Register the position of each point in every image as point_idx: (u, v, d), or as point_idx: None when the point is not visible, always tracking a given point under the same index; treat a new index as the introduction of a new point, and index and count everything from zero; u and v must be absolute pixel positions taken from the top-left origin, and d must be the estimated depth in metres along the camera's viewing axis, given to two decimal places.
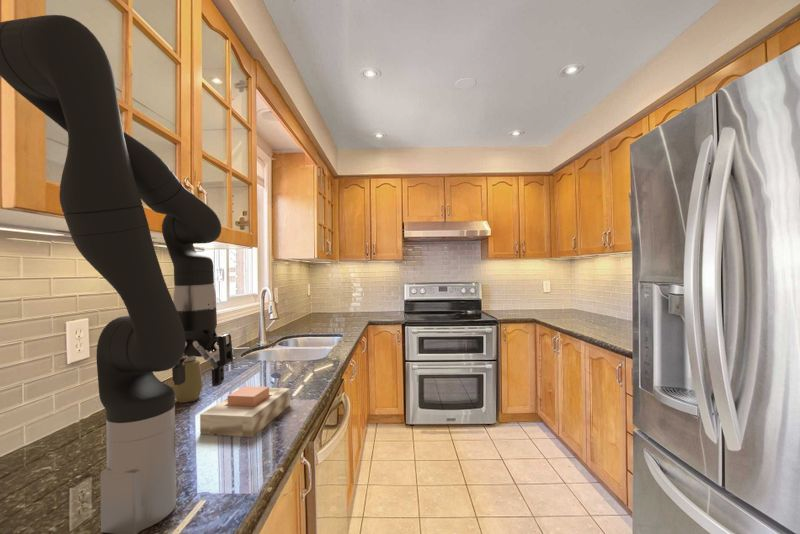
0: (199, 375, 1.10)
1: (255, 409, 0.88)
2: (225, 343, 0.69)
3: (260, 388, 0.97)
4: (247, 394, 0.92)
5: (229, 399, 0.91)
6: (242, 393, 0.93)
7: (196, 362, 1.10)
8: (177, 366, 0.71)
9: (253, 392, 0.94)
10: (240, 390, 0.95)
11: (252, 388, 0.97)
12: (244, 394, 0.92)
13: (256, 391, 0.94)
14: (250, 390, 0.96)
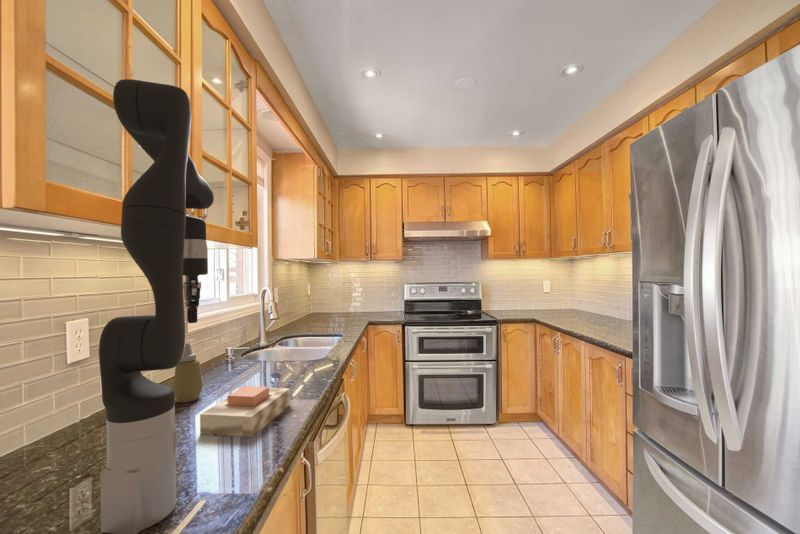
0: (199, 375, 1.10)
1: (255, 409, 0.88)
2: None
3: (260, 388, 0.97)
4: (247, 394, 0.92)
5: (229, 399, 0.91)
6: (242, 393, 0.93)
7: (196, 362, 1.10)
8: None
9: (253, 392, 0.94)
10: (240, 390, 0.95)
11: (252, 388, 0.97)
12: (244, 394, 0.92)
13: (256, 391, 0.94)
14: (250, 390, 0.96)
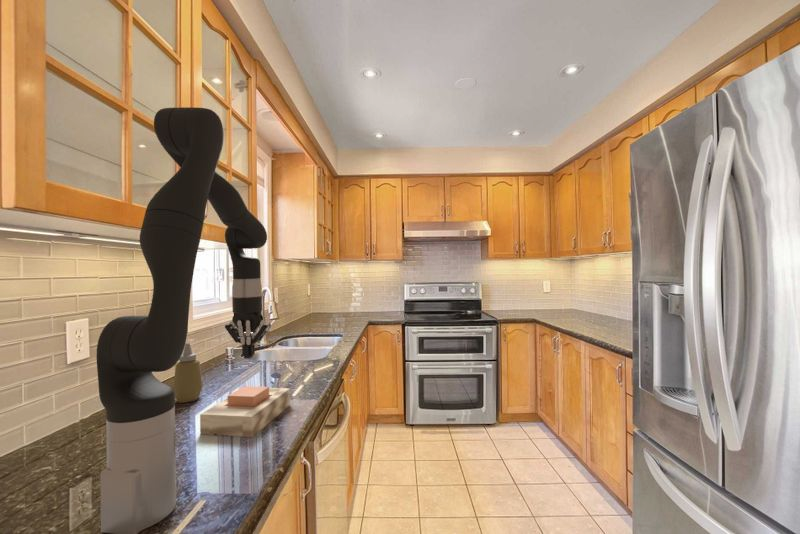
0: (199, 375, 1.10)
1: (255, 409, 0.88)
2: None
3: (260, 388, 0.97)
4: (247, 394, 0.92)
5: (229, 399, 0.91)
6: (242, 393, 0.93)
7: (196, 362, 1.10)
8: None
9: (253, 392, 0.94)
10: (240, 390, 0.95)
11: (252, 388, 0.97)
12: (244, 394, 0.92)
13: (256, 391, 0.94)
14: (250, 390, 0.96)
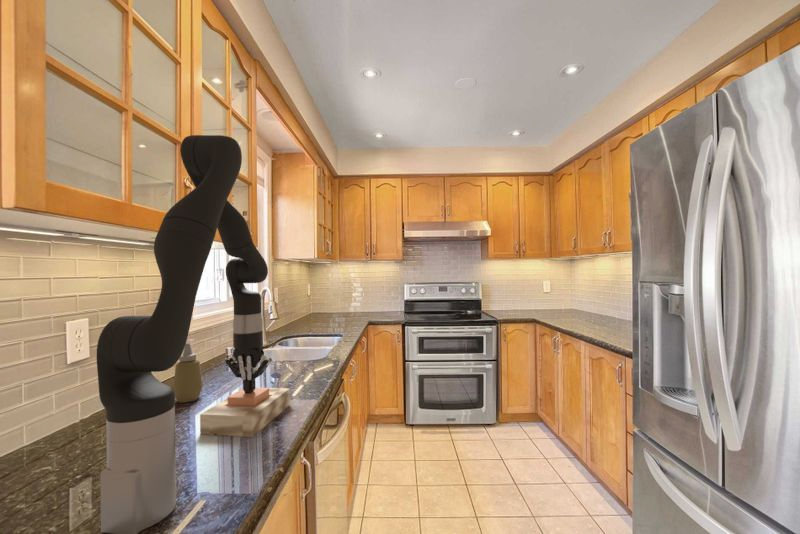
0: (199, 375, 1.10)
1: (255, 409, 0.88)
2: None
3: (260, 389, 0.97)
4: (247, 396, 0.92)
5: (229, 401, 0.91)
6: (242, 395, 0.93)
7: (196, 362, 1.10)
8: None
9: (253, 393, 0.94)
10: (240, 391, 0.95)
11: None
12: (244, 395, 0.92)
13: (256, 392, 0.94)
14: None
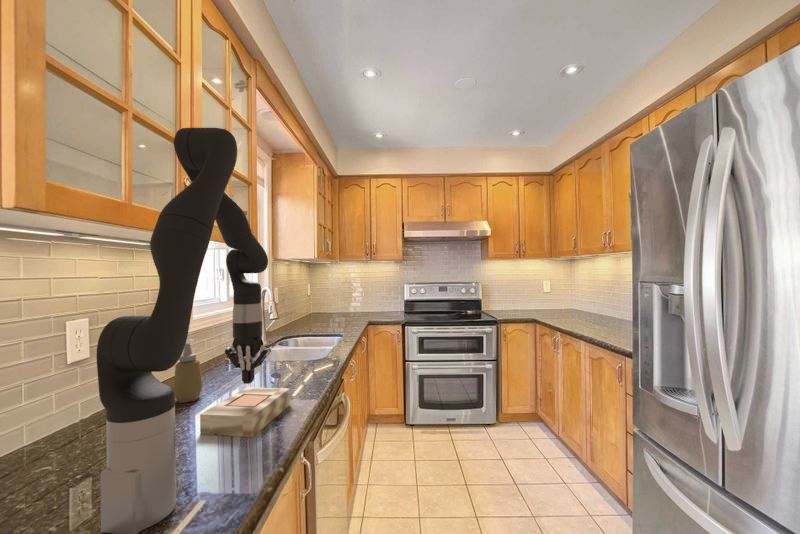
0: (199, 375, 1.10)
1: (255, 409, 0.88)
2: None
3: (260, 397, 0.97)
4: (247, 404, 0.92)
5: None
6: (242, 403, 0.93)
7: (196, 362, 1.10)
8: None
9: (253, 401, 0.94)
10: (240, 399, 0.95)
11: (252, 397, 0.97)
12: (244, 403, 0.92)
13: (256, 400, 0.94)
14: (250, 399, 0.96)
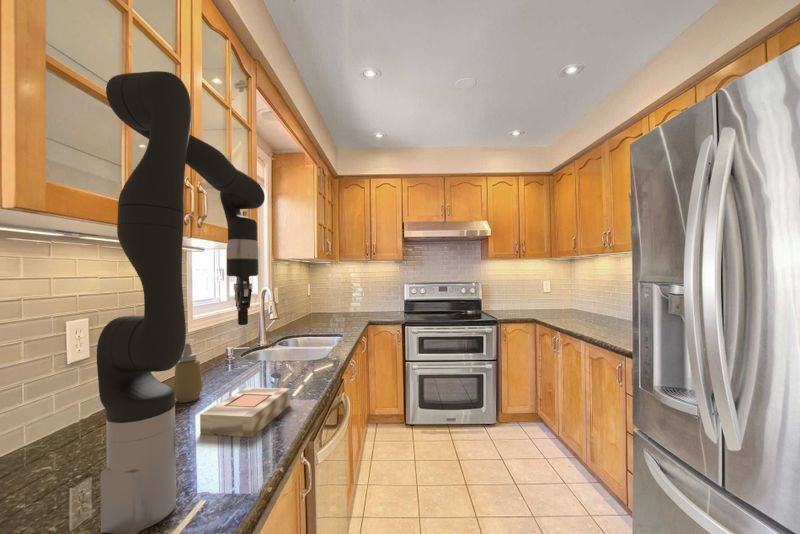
0: (199, 375, 1.10)
1: (255, 409, 0.88)
2: None
3: (260, 397, 0.97)
4: (247, 404, 0.92)
5: None
6: (242, 403, 0.93)
7: (196, 362, 1.10)
8: None
9: (253, 401, 0.94)
10: (240, 399, 0.95)
11: (252, 397, 0.97)
12: (244, 403, 0.92)
13: (256, 400, 0.94)
14: (250, 399, 0.96)
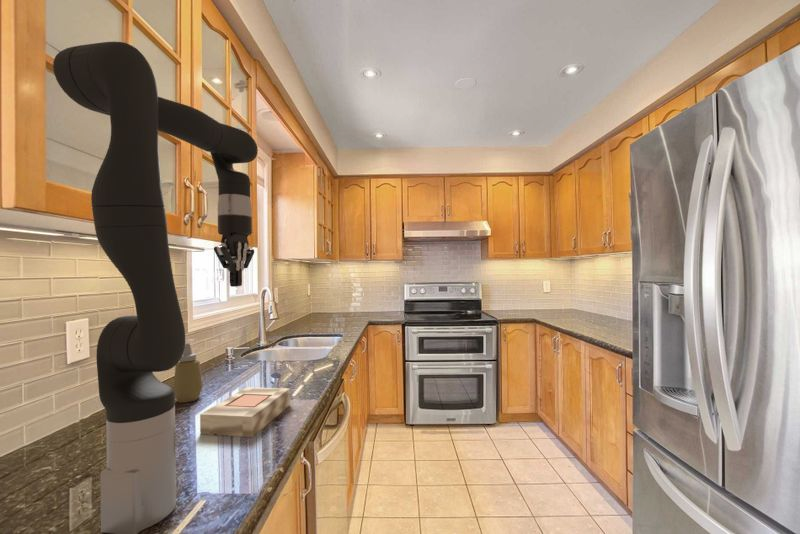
0: (199, 375, 1.10)
1: (255, 409, 0.88)
2: None
3: (260, 397, 0.97)
4: (247, 404, 0.92)
5: None
6: (242, 403, 0.93)
7: (196, 362, 1.10)
8: None
9: (253, 401, 0.94)
10: (240, 399, 0.95)
11: (252, 397, 0.97)
12: (244, 403, 0.92)
13: (256, 400, 0.94)
14: (250, 399, 0.96)
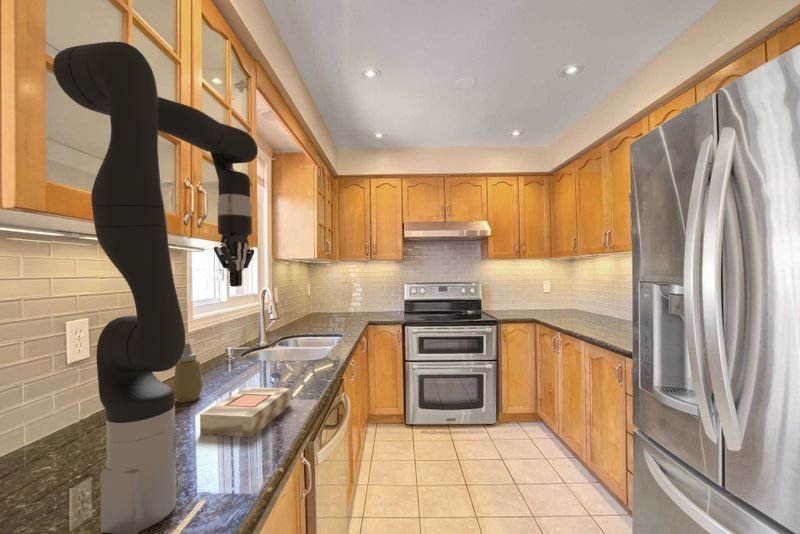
0: (199, 375, 1.10)
1: (255, 409, 0.88)
2: None
3: (260, 397, 0.97)
4: (247, 404, 0.92)
5: None
6: (242, 403, 0.93)
7: (196, 362, 1.10)
8: None
9: (253, 401, 0.94)
10: (240, 399, 0.95)
11: (252, 397, 0.97)
12: (244, 403, 0.92)
13: (256, 400, 0.94)
14: (250, 399, 0.96)
